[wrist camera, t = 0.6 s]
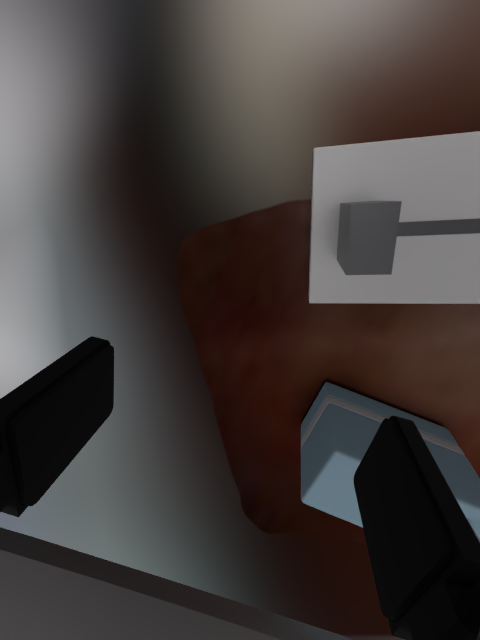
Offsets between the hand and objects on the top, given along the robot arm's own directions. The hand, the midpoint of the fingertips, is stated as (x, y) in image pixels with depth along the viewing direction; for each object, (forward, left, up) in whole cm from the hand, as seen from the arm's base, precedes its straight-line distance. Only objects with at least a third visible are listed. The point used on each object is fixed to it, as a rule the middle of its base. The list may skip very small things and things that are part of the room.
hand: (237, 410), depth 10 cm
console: (-17, -3, -24) cm, 30 cm away
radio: (-11, +22, -25) cm, 35 cm away
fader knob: (-7, -3, -21) cm, 22 cm away
